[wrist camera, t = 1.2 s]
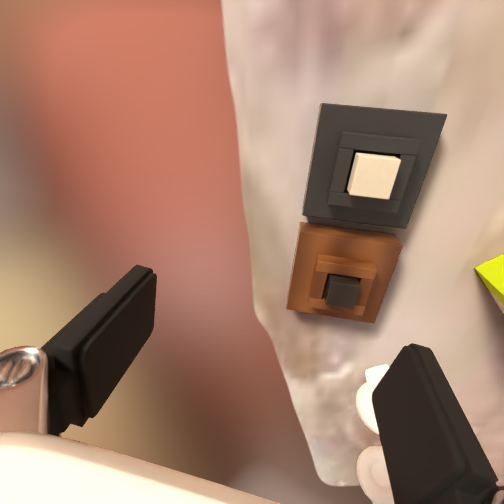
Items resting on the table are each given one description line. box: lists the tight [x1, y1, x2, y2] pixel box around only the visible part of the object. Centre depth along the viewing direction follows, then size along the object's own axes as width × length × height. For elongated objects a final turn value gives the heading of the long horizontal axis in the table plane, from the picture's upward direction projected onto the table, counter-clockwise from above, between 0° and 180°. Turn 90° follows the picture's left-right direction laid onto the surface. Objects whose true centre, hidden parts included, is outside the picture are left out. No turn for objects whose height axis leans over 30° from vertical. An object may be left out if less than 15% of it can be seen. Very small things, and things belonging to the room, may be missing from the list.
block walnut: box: [286, 222, 402, 324], centre depth 31 cm, size 10×10×4 cm
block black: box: [302, 103, 447, 229], centre depth 26 cm, size 10×10×4 cm
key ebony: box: [324, 274, 360, 309], centre depth 28 cm, size 3×3×2 cm
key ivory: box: [347, 153, 401, 200], centre depth 23 cm, size 3×3×2 cm
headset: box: [355, 365, 395, 504], centre depth 34 cm, size 20×7×18 cm, turn 9°
